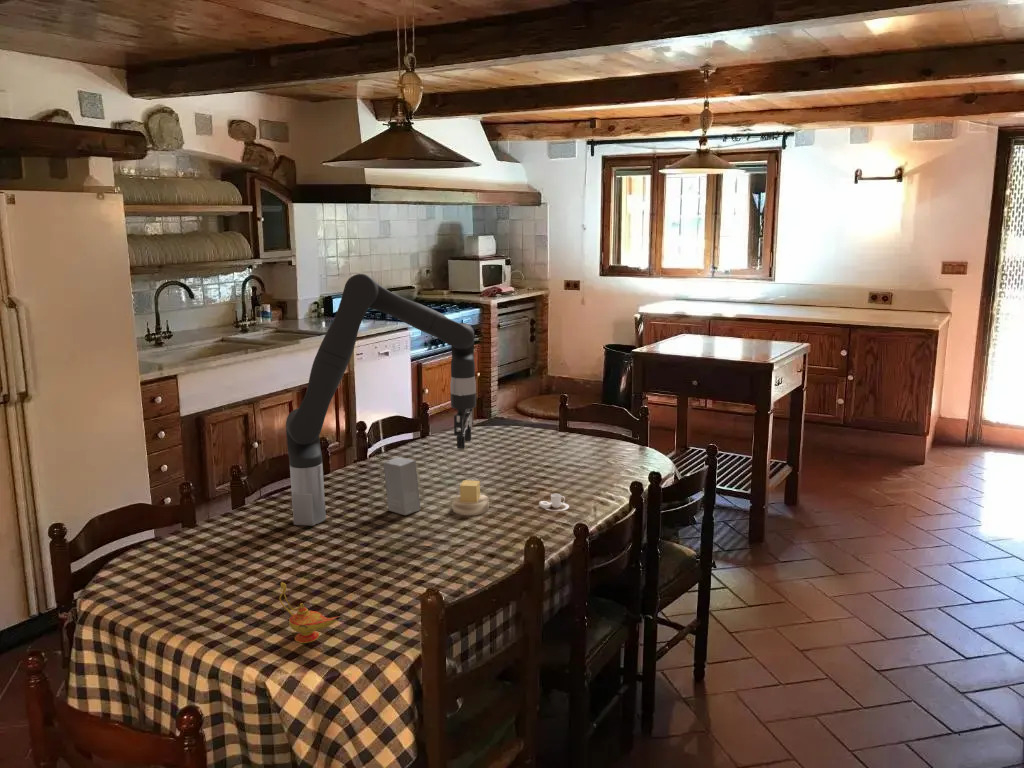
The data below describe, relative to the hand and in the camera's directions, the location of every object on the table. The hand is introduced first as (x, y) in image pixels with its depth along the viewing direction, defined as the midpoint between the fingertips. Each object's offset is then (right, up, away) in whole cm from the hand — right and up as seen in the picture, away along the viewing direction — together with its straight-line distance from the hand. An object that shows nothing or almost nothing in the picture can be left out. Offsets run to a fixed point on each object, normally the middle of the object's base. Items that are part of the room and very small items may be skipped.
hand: (464, 444), depth 244 cm
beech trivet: (+2, -20, +4) cm, 20 cm away
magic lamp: (-28, -36, -72) cm, 85 cm away
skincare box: (-19, -20, +3) cm, 28 cm away
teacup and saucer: (+26, -19, +7) cm, 33 cm away
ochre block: (+2, -17, +3) cm, 17 cm away
